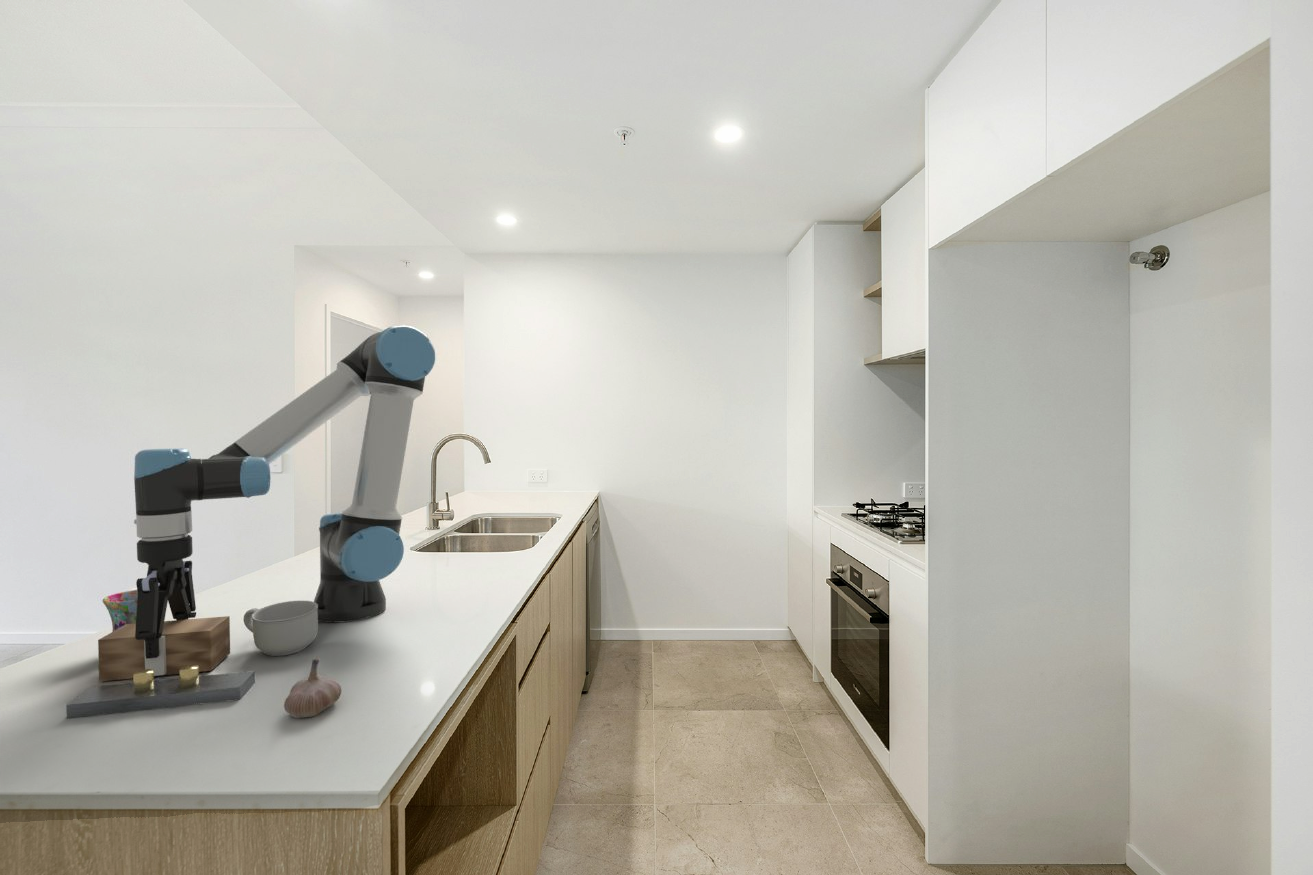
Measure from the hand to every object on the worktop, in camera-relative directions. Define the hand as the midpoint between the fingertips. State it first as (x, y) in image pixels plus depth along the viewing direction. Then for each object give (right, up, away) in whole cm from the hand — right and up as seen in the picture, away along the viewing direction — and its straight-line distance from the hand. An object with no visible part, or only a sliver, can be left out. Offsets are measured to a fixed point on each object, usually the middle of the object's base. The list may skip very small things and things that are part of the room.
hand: (169, 664), depth 105 cm
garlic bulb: (+34, -1, -15) cm, 38 cm away
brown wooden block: (0, 0, 0) cm, 0 cm away
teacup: (+14, -1, +9) cm, 17 cm away
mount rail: (+9, -1, -12) cm, 15 cm away
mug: (-13, -1, +10) cm, 16 cm away
